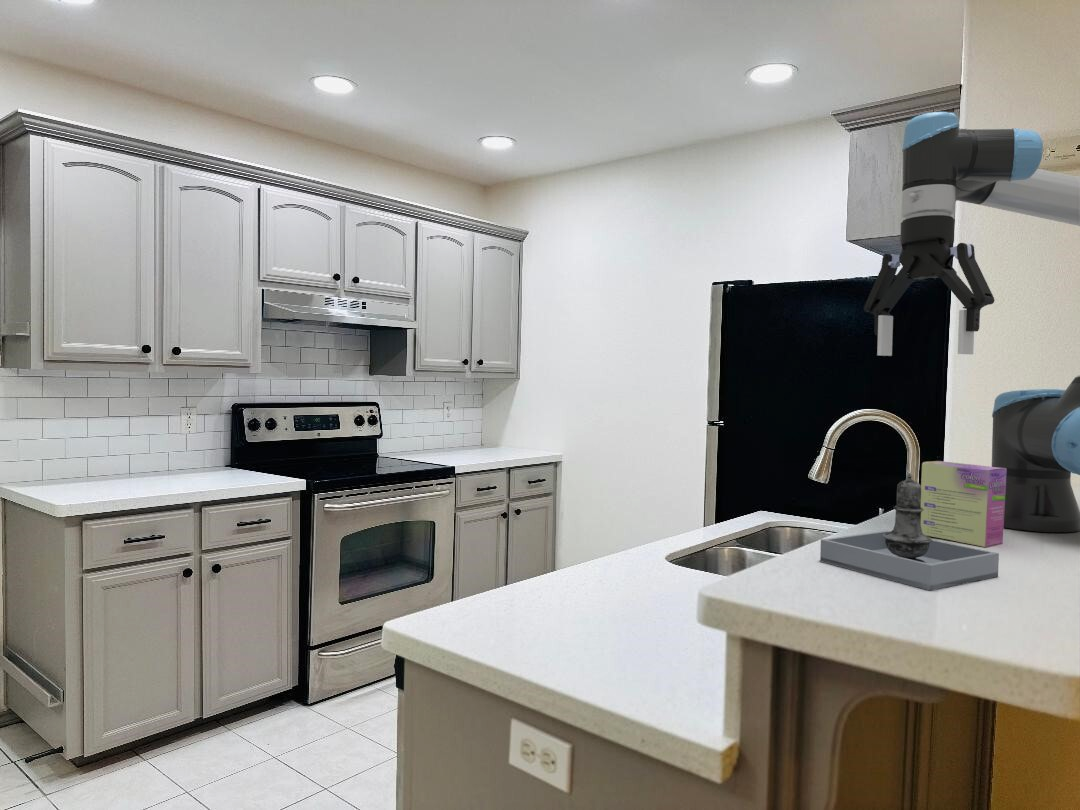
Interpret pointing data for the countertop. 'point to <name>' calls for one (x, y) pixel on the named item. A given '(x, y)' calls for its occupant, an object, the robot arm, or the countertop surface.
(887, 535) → the salt shaker
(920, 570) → the tray
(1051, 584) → the countertop surface
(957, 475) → the box
